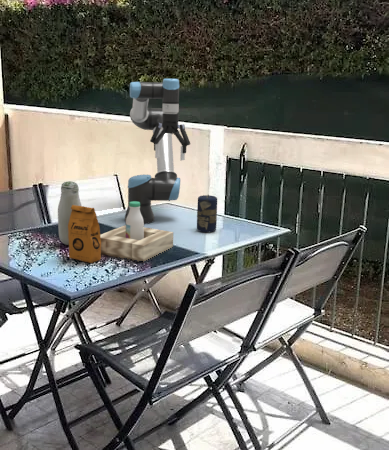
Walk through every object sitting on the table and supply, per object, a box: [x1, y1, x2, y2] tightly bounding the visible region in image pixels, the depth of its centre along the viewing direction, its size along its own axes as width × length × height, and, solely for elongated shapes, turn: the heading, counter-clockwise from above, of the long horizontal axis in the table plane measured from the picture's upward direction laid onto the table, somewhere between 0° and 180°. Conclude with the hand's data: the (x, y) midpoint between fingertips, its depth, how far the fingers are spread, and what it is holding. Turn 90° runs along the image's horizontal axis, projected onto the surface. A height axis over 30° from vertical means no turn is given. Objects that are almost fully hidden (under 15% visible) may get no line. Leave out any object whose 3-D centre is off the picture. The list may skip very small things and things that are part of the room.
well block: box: [100, 224, 174, 263], centre depth 243 cm, size 24×24×7 cm
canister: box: [196, 194, 218, 233], centre depth 275 cm, size 10×10×18 cm
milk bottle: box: [125, 201, 145, 240], centre depth 241 cm, size 8×8×20 cm
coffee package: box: [68, 205, 102, 264], centre depth 227 cm, size 10×12×22 cm
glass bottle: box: [57, 181, 82, 246], centre depth 245 cm, size 10×10×28 cm
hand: (169, 159), depth 268 cm, fingers open, 13 cm apart
